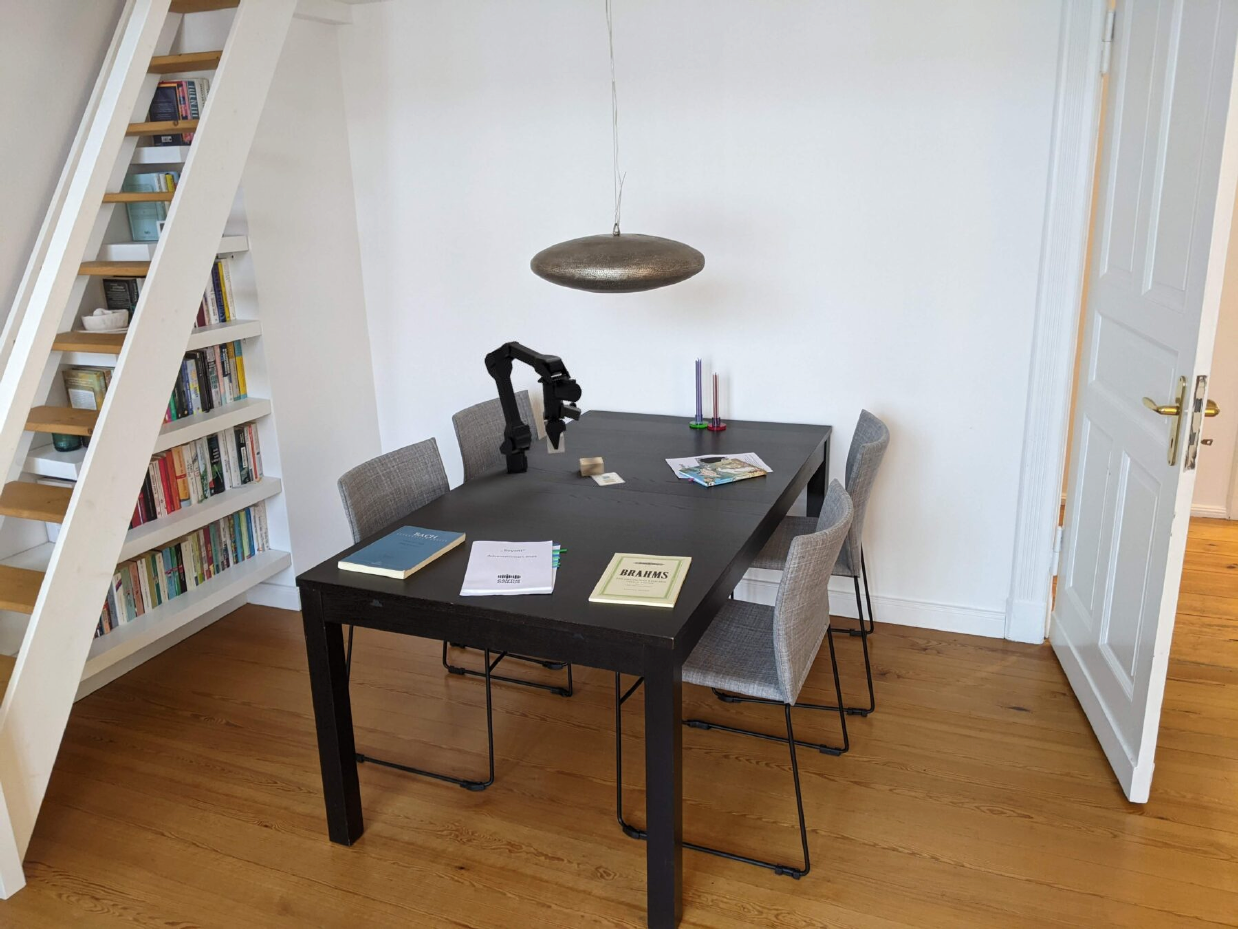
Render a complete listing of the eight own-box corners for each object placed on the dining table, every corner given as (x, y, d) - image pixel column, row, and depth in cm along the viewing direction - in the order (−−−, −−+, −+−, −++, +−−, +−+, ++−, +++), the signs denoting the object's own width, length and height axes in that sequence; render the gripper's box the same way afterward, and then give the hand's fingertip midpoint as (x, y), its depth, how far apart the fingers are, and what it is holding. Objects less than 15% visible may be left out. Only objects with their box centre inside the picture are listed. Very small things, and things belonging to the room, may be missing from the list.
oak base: (582, 476, 301) (581, 464, 300) (580, 470, 307) (579, 458, 306) (604, 475, 301) (603, 463, 300) (601, 468, 308) (601, 457, 307)
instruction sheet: (600, 485, 290) (600, 485, 290) (590, 476, 300) (590, 475, 300) (625, 482, 292) (625, 481, 292) (614, 472, 302) (614, 472, 302)
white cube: (548, 453, 291) (547, 437, 290) (547, 448, 296) (546, 433, 294) (564, 452, 292) (563, 436, 290) (563, 447, 296) (562, 432, 295)
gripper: (581, 403, 281) (584, 453, 285) (576, 390, 299) (579, 437, 303) (543, 405, 280) (547, 456, 284) (541, 392, 298) (544, 440, 302)
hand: (555, 447), depth 294 cm, fingers closed on white cube, 5 cm apart
